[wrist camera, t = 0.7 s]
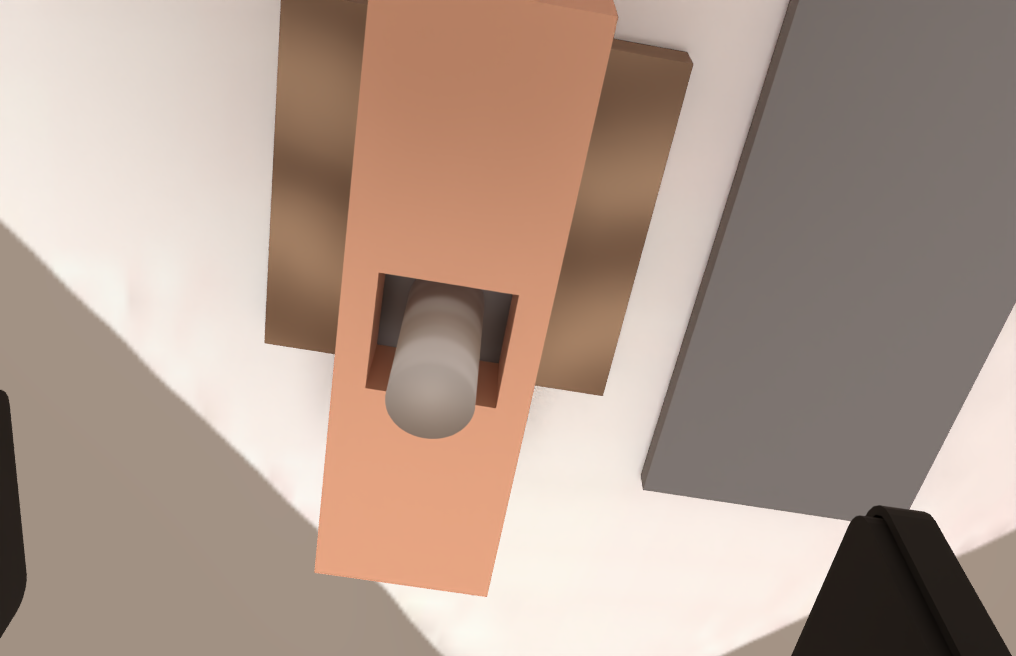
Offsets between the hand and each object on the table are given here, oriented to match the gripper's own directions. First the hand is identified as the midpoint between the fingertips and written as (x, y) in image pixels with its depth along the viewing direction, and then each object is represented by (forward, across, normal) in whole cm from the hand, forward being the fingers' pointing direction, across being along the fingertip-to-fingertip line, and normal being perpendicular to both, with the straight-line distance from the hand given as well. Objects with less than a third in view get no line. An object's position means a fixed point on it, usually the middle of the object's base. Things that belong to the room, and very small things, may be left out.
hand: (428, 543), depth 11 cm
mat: (+26, -16, +6) cm, 32 cm away
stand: (+27, 0, +6) cm, 27 cm away
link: (+19, 0, +7) cm, 20 cm away
